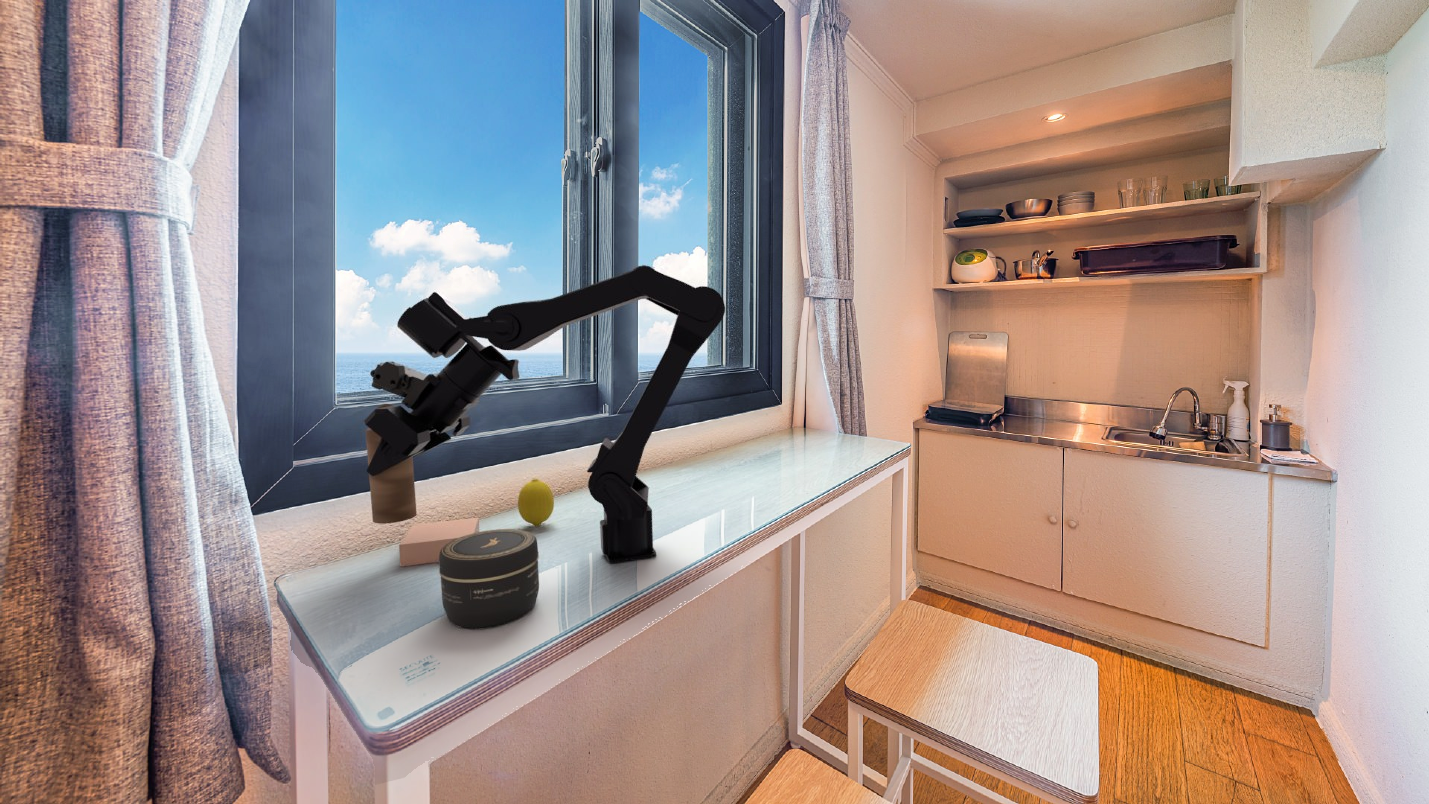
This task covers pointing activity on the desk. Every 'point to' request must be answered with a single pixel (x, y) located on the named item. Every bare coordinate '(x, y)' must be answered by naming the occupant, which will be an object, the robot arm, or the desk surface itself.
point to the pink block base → (433, 539)
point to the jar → (489, 577)
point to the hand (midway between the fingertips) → (380, 469)
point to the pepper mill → (391, 487)
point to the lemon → (535, 502)
